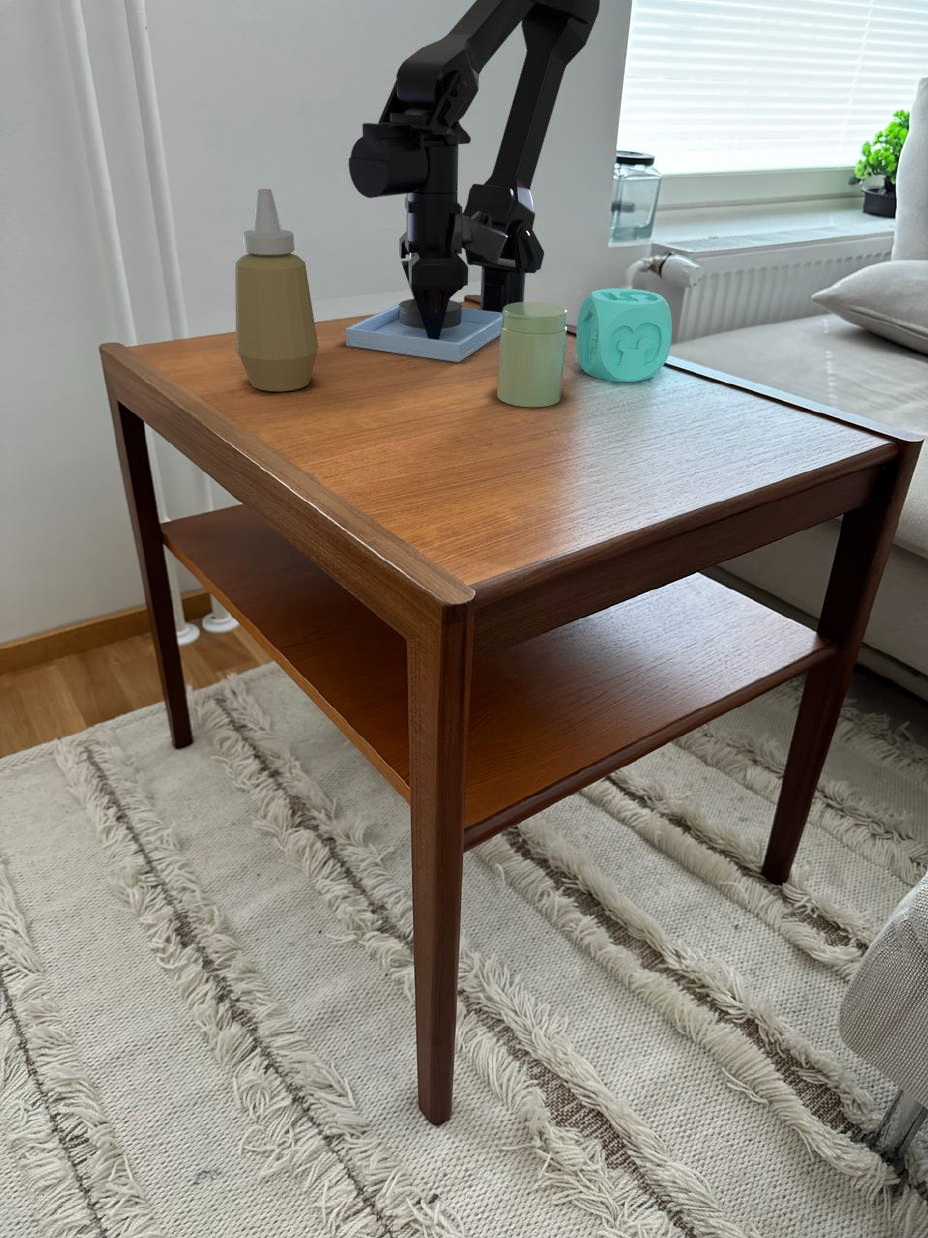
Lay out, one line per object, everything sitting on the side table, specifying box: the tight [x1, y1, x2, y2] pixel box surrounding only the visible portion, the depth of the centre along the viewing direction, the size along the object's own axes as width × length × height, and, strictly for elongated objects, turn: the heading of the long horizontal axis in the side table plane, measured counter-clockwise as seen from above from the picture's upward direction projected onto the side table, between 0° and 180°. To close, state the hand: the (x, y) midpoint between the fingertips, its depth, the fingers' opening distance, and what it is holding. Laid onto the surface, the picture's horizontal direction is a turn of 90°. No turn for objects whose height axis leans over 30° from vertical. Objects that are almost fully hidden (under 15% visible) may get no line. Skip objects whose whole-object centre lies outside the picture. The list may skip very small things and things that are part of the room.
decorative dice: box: [575, 287, 673, 383], centre depth 96 cm, size 8×8×8 cm
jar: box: [496, 301, 568, 408], centre depth 88 cm, size 6×6×9 cm
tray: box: [345, 303, 503, 363], centre depth 107 cm, size 16×14×2 cm
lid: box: [398, 298, 463, 329], centre depth 107 cm, size 8×8×2 cm
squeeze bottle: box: [234, 188, 319, 392], centre depth 86 cm, size 8×8×18 cm
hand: (430, 332), depth 108 cm, fingers closed on lid, 7 cm apart
